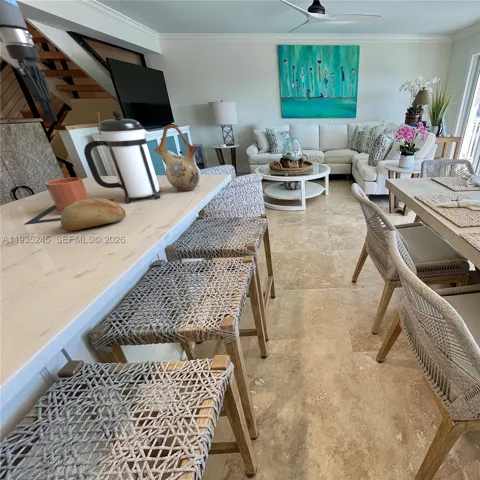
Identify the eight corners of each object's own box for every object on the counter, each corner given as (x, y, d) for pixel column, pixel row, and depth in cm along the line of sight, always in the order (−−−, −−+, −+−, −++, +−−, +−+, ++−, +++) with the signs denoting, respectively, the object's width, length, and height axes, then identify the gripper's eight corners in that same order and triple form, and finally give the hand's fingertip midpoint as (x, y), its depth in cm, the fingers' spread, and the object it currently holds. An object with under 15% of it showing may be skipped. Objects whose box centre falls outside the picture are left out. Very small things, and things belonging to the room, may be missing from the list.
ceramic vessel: (209, 186, 114) (196, 123, 103) (204, 192, 107) (190, 124, 95) (169, 188, 112) (152, 124, 101) (161, 194, 104) (141, 125, 93)
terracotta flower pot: (54, 216, 84) (39, 185, 80) (66, 207, 92) (53, 179, 87) (87, 212, 87) (74, 182, 82) (97, 204, 94) (85, 176, 90)
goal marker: (24, 224, 79) (24, 223, 79) (54, 205, 94) (53, 204, 94) (96, 216, 84) (96, 215, 84) (113, 199, 99) (113, 198, 99)
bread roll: (128, 224, 78) (119, 198, 74) (62, 238, 70) (48, 210, 67) (127, 214, 85) (118, 190, 81) (66, 226, 77) (53, 200, 74)
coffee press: (145, 189, 110) (119, 110, 96) (174, 193, 105) (151, 109, 91) (102, 202, 96) (64, 111, 82) (133, 207, 91) (99, 110, 77)
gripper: (23, 42, 87) (56, 121, 97) (43, 49, 97) (71, 119, 108) (-7, 41, 84) (30, 122, 95) (17, 48, 95) (49, 120, 106)
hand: (52, 120), depth 102 cm, fingers closed
